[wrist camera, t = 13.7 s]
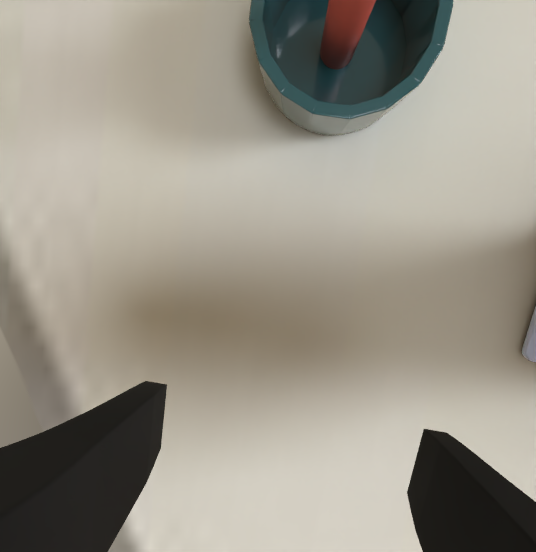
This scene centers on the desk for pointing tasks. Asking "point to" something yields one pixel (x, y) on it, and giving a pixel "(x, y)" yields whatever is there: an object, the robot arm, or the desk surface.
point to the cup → (358, 72)
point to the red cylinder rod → (343, 30)
